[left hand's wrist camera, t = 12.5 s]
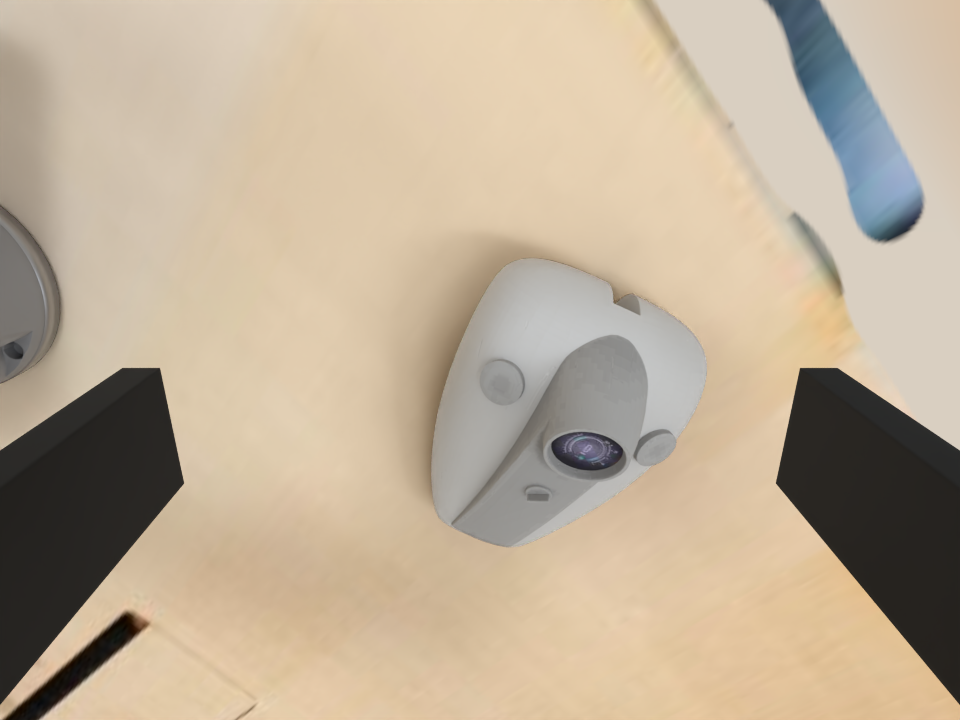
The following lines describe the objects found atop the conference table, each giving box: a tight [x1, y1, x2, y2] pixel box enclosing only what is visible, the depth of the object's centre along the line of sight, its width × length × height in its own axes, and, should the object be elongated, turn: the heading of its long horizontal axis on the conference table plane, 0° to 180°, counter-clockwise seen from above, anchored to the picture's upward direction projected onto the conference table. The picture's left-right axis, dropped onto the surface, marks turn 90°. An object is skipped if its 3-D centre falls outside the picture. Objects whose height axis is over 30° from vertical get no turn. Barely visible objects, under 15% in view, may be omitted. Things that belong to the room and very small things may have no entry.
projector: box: [431, 258, 707, 547], centre depth 40 cm, size 22×23×15 cm
